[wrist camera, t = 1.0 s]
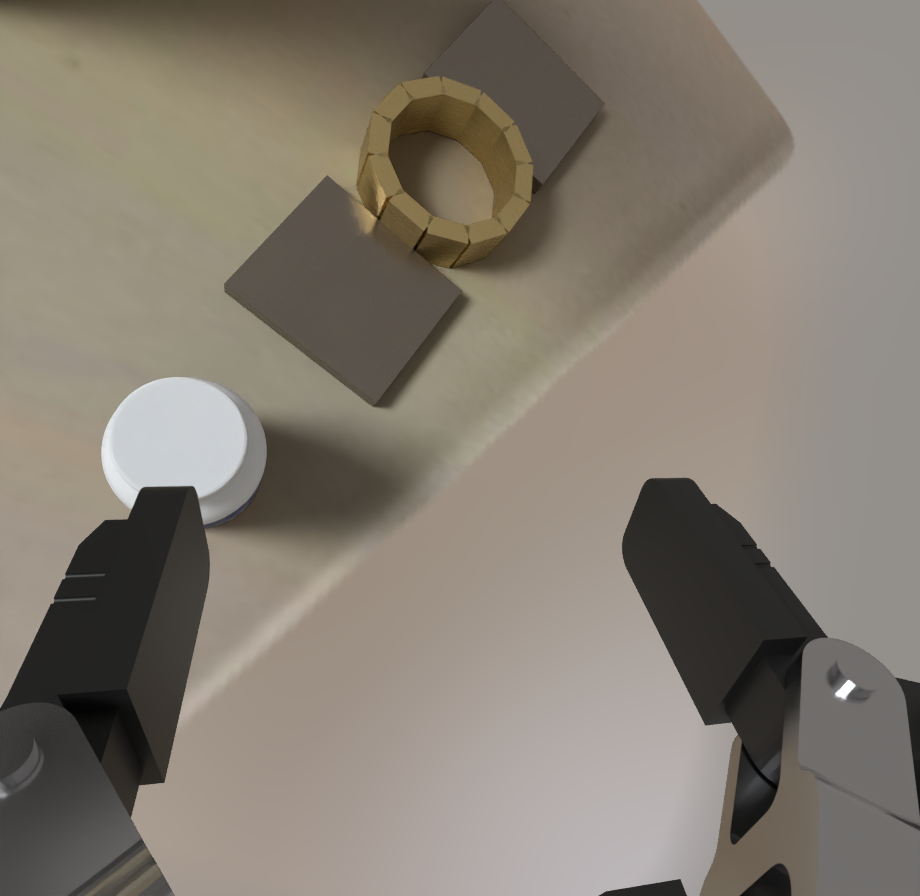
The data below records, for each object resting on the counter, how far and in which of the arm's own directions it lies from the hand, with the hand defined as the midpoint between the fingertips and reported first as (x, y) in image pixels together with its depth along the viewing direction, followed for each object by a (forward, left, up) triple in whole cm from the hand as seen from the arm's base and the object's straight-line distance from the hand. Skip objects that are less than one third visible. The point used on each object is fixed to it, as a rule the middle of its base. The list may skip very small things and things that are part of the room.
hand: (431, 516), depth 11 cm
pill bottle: (-6, -1, -20) cm, 20 cm away
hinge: (-6, +19, -19) cm, 28 cm away
